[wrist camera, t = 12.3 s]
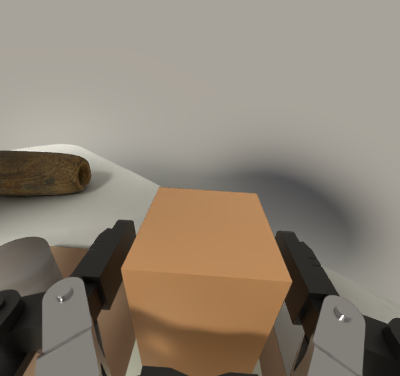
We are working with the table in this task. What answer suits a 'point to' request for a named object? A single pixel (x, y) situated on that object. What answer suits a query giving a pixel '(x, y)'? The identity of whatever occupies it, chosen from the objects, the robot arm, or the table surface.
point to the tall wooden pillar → (204, 282)
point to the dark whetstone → (42, 173)
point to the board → (108, 319)
